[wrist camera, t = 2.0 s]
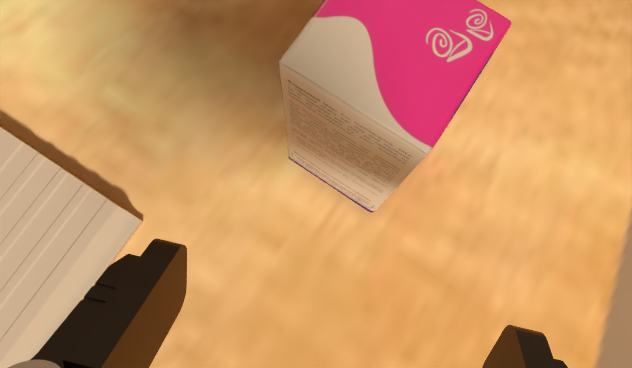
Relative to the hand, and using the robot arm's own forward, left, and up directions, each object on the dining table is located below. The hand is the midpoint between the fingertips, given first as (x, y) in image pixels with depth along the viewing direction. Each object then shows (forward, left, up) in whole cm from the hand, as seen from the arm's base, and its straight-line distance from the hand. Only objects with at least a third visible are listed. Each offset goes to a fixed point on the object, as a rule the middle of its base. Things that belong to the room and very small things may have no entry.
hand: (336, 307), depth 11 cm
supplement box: (0, +8, -13) cm, 15 cm away
